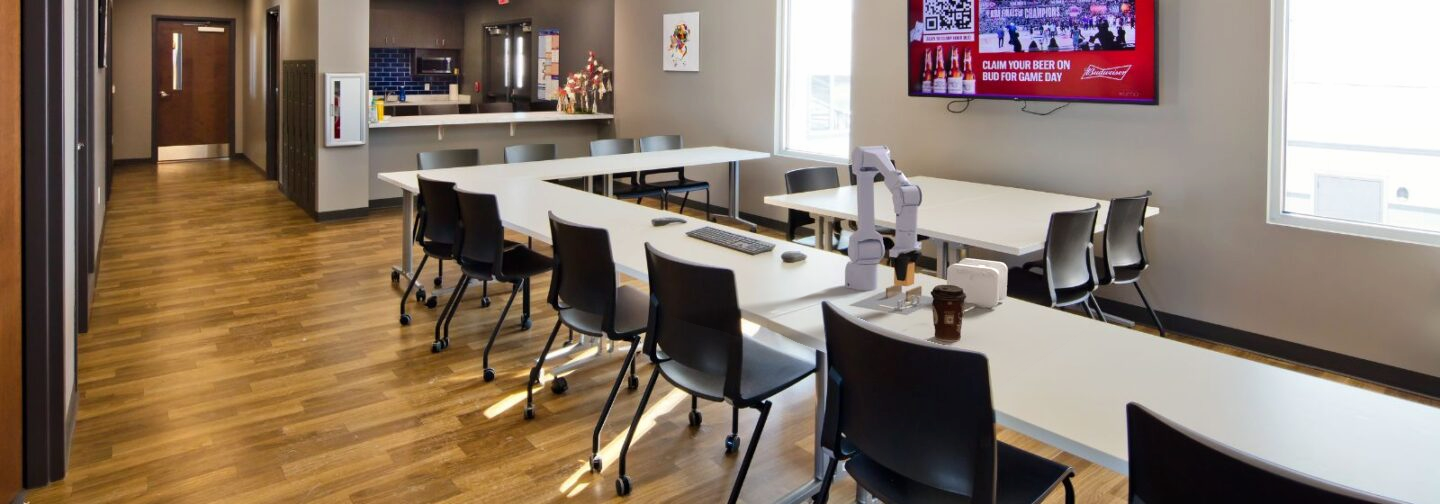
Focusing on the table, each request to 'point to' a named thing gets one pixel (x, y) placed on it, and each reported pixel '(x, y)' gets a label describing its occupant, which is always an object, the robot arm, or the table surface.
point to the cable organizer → (980, 281)
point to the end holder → (897, 290)
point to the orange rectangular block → (909, 276)
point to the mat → (894, 303)
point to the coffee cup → (948, 312)
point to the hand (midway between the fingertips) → (905, 278)
